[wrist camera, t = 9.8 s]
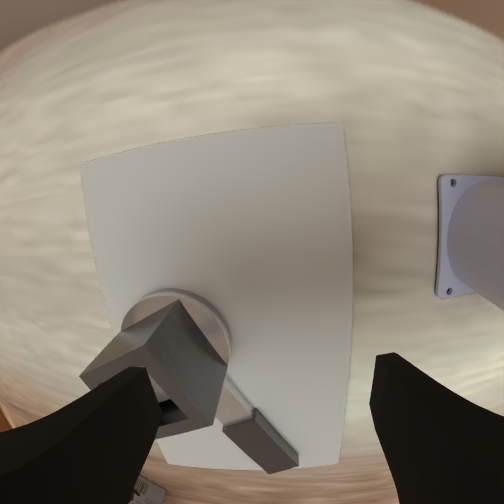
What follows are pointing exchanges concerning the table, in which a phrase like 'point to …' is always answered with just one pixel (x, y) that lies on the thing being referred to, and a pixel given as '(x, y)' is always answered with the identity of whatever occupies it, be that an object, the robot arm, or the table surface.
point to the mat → (241, 268)
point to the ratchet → (231, 400)
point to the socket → (168, 367)
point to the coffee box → (146, 492)
